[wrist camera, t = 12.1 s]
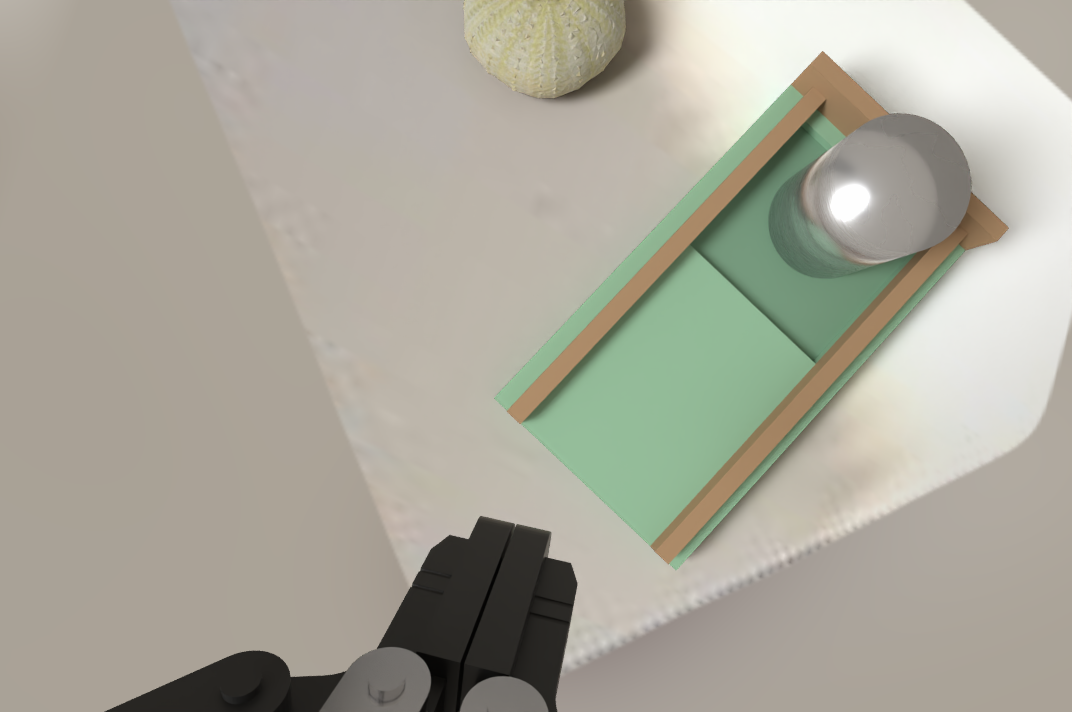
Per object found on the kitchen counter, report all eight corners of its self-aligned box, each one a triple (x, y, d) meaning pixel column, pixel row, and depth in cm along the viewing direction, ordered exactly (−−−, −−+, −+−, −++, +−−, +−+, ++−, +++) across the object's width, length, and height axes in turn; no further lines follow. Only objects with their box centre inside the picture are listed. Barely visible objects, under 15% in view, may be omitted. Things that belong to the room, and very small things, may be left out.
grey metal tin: (745, 226, 37) (805, 186, 29) (817, 144, 37) (895, 85, 30) (829, 302, 37) (910, 281, 29) (900, 219, 37) (999, 178, 30)
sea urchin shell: (469, -84, 37) (574, -139, 31) (556, -1, 42) (657, -35, 37) (431, 66, 36) (531, 37, 31) (524, 129, 42) (622, 114, 36)
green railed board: (494, 397, 37) (492, 399, 33) (787, 88, 39) (822, 51, 34) (667, 560, 37) (688, 584, 33) (952, 245, 39) (1009, 228, 34)
